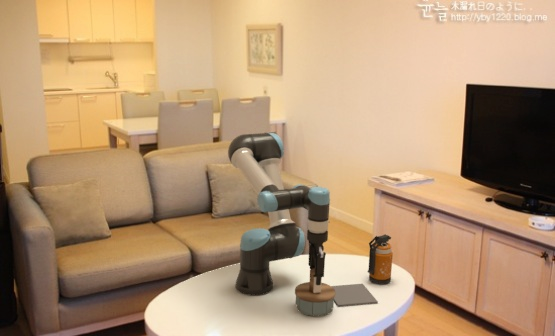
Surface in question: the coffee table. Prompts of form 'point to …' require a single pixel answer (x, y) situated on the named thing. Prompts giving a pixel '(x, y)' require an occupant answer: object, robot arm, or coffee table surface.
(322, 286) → the walnut lid
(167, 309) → the coffee table surface
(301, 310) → the slate bowl
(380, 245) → the canister
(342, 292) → the rubber mat
